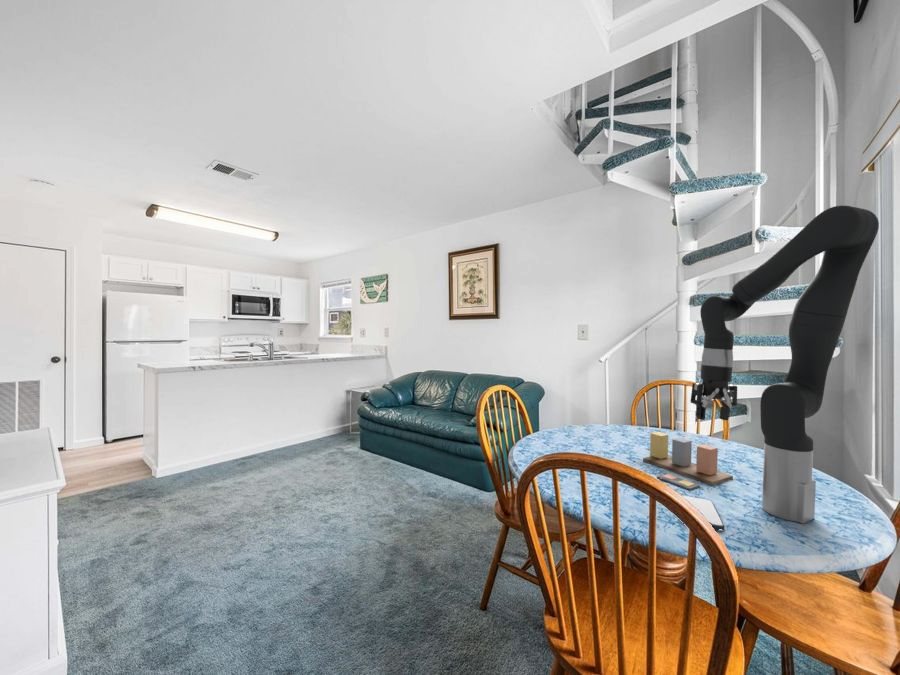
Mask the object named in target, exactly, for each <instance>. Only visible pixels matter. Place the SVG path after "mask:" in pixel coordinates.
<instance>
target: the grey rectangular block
mask: <svg viewBox="0 0 900 675" xmlns="http://www.w3.org/2000/svg"><path fill="white" fill-rule="evenodd" d="M671 440H672V441H671V443H672V444H671V447H672V448H671V456H672V463H674V464H677V465H680V466H683V467H685V466H688V465H691V463H692V448H693V447H692V445H693V444H692V443H693V441H692V440H689V439H685V438H681V437H678V438H677V437H676V438H673V439H671Z"/></svg>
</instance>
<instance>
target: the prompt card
mask: <svg viewBox="0 0 900 675" xmlns="http://www.w3.org/2000/svg"><path fill="white" fill-rule="evenodd" d="M656 478H657V479H659V480H661V481H664V480H665V481H664V482H666V481H667V483H669V484H672V483H673V484H672V485H674V486H677V487H680V488H682V489H685V490H688V491H692V490H696V489H698V488H700V487H701V485H700V484H698V483H695V482H692V481H691V480H687V479H685V478H684V479H683V478H682V477H678V476H676V475H673V474H670V473H668V472H665V473H664V474H660V475H657V476H656ZM660 478H662V479H660Z"/></svg>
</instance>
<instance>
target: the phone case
mask: <svg viewBox="0 0 900 675" xmlns="http://www.w3.org/2000/svg"><path fill="white" fill-rule="evenodd" d="M681 495H682V496H683V497H684V498H685V499H687V500H688V501H689V502H690V503H691V504H693V505H694V506H695V507H696V508H697V509H699V510H700V512H701V513H702V514H703V515H704V516H705V518H706V519H707V520H708V521H709V523H710V524H711V525H712V527H713V528H714V529H715V530H714V531H717V532H719V531H718V530H719V529H722V530H724V531H725V524H724V522H723V519H722V518H721V516H720V513H719V512H718V510H717V508H716V505H715V504H714V502H713V501H712V500H711V499H710V500H709V499H706V498H702V497H701V498H700V497H695V496H689V495H683V494H681Z"/></svg>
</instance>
